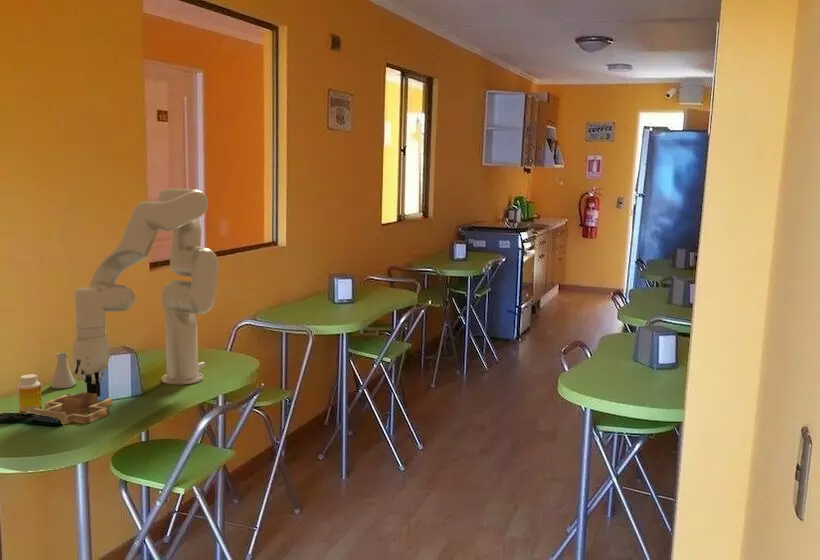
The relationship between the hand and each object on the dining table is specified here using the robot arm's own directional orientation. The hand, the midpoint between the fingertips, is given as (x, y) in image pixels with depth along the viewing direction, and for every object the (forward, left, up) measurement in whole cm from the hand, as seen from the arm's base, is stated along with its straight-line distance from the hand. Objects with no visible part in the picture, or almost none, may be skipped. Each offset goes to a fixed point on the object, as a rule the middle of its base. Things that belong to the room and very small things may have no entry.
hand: (93, 396), depth 206 cm
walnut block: (+5, 0, -3) cm, 6 cm away
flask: (-12, -21, -3) cm, 25 cm away
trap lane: (+7, 0, -2) cm, 8 cm away
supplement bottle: (+12, -10, -3) cm, 16 cm away
